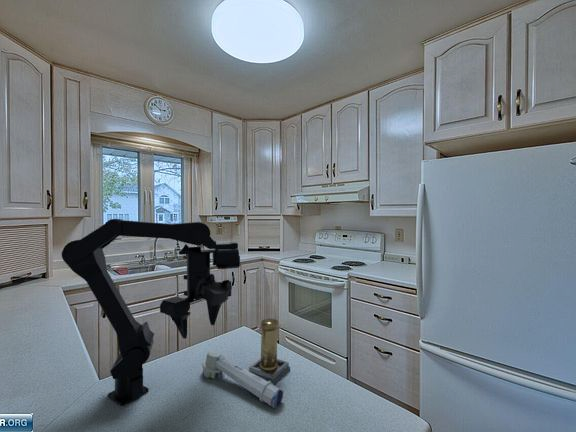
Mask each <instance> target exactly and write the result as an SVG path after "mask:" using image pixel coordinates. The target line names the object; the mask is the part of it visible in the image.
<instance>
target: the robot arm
mask: <svg viewBox="0 0 576 432" xmlns="http://www.w3.org/2000/svg"><path fill="white" fill-rule="evenodd" d="M118 237H133V238H134V237H137V238H138V237H139V238H152V239H155V238H156V239H168V240H173V241H177V242H180V243H185V244H184V246H182V248H181V249H180V250H179V251H178V255H186V274H184V275H183V280H186V284H187V285H186V290H184V291H183V296H186V297H179V296H172V297H170V298H169V297H168V298H166V299H163V300H162V301H161V302H160V304H159V312H160V313H161V314H163V315H164V314H165V315H167V316H169V317H170V319H172V322H173V323H174V324H175V327H176V328H177V330H178V331H179V334H180V336H181V338H182V339H184V340H185V339H187V337H188V317H189V316H190V315H191V314H192V313H191V312H189V311H190V309H191V305H194V304H197V303H200V302H202V301H206V306H207V313H208V314H207V315H208V319H209V324H210V325H211V326H215V325H216V321H217V318H218V315H219V312H220V309H221V306H222V304H224V303H226V301H228V300H229V297H231V296H232V290H233V289H232V288H233V286H232V284H233V283H232V281H231V280H229V279H224V280H222V281H216V279H215V274H214V273H211V260H212V267H214V266H215V268H217V270H226V269H227V270H229V269H238V268H240V266H241V256H240V251H239V243H238V242H229V243H217V240H214V239H213V238H212V237H211V229H210V227H209V226H208V224H206V223H204V222H202V221H193V222H192V221H191V222H181V223H180V222H179V223H165V222H153V221H151V222H150V221H149V222H148V221H138V220H125V219H122V218H111V219H109V220H107V221H106V222H105V223H104V224H103V225H101V226H99V227H98V228H97V229H95V230H93V231H91V232H90V233H88V234H87V235H85V236H84V237H82V238H80V239H75V240H72V241H70V242H68V243H66V244H65V246H63V249H62V251H61V254H60V255H61V258H62V260H63V262H64V263H65V264H66V265H67V266H68V267H69V268H70V270H71V271H72V272H73V273H74V274H75V275H78V277H80V278H82V279H83V280H84V281H85V282H86V284H87V285H88V287H89V289H90V290H91V293H92V294H93V296H94V297H95V299H96V301H97V303H98V304H99V306H100V307H101V309H102V312H103V313H104V315H105V316H106V318H107V319H108V321H109V323H110V325H111V326H112V328H113V330H114V331H115V334H116V338H117V345H118V346H117V347H118V350H119V351H118V352H119V353H118V356H116V357H117V358H116V360H115V361H114V362H113V366H112V367H111V369H110V371H109V372H110V374H111V377H112V379H113V380H114V390H112V391H111V392H108V393H107V398H109V399H111V400H112V401H113V402H116V403H117V404H119V405H120V406H125V405H126V404H128V403H130V402H132V401H135V399H137V398H139V397H140V396H143V395H145V394H146V393H148V392H149V391H150V390H149V389H150V388H149V387H147V386H145V385H144V367H143V365H144V364H145V363H146V362H147V361H148V360H149V358H150V355H151V353H152V348H153V346H154V341H155V340H154V336H155V333H154V332H153V331H152V330H151V329H150V326H149V323H148V322H147V321H144V323H142V324H141V323H139V322H138V321H137V320H136V319H135V317H134V316H133V313H132V312H131V310H130V308H129V307H128V305H127V303H126V302H125V300H124V298H123V295H121V293H120V291H119V289H118V287H117V286H116V284H115V282H114V280H113V278H112V277H111V275H110V273H109V272H108V269H107V264H106V263H107V262H106V256H105V253H104V249H105V248H106V247H107V246H109V245H110V244H111V243H112V242H113V241H114V240H116V239H117V238H118ZM188 244H189V245H193V246H189V245H188ZM201 246H203V247H206V248H207V249H202V247H201ZM211 254H212V256H211ZM211 257H212V259H211Z"/></svg>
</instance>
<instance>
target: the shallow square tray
mask: <svg viewBox="0 0 576 432" xmlns="http://www.w3.org/2000/svg"><path fill="white" fill-rule="evenodd" d="M260 362H261V358H259V359H258V360H257V361H255V362H254V363H253V364H251V365H250V366H249V367H248V371H249V372H251V373H253V374H255V375H256V376H258V377H260V378H262V379H264V380H266V381H267V382H268V381H271V382H272V383H273V385H274V386H275V385H276V383H278V382H279V381H280V380H281V379H282V378H283V377H285V375H287V373H289V372H290V371H291V366H290V363H289V362H288V361H285V360H282V359H280V358H277V370H276V371H275V372H274V373H272V374H271V373H269V372H266V371H263V370H261V369H260Z"/></svg>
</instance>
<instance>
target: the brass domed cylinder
mask: <svg viewBox="0 0 576 432" xmlns="http://www.w3.org/2000/svg"><path fill="white" fill-rule="evenodd" d="M260 329H261V334H260V337H261V338H260V343H261V344H260V359H261V362H260V369H261V370H263V371H266V372H269V373H271V374H272V373H274V372H275V371H276V370H277V359H278V329H279V320H277V319H275V318H264V319H262V320H261V321H260Z"/></svg>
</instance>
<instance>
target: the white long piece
mask: <svg viewBox="0 0 576 432" xmlns="http://www.w3.org/2000/svg"><path fill="white" fill-rule="evenodd" d="M201 366H202V373H203V376H204V377H206V378H207V379H208V378H211V379H218V378H220V377H221V376H222V375H223V374H224V375H226V376H228V377H229V378H230V379H232V380H233V381H235V383H237V384H239V385H240V386H241V387H243V388H245V389H246V390H247V391H249V392H250V393H251V394H253V395H255V397H257V398H259V401H260V402H261V403H265V404H267V405H269V406H270V407H272V408H273V409H276V408H277V407H279V405H280V404H281V403H282V400H283V397H284V391H283V390H282V389H280V388H278V387H277V386H276V385H275V384H274V385H273V383H272V382H271V381H268V382H267V381H266V380H264V379H262V378H260V377H258V376H256V375H255V374H253V373H251V372H249V370H247V369H245V368H243V367H241V366H239V365H237V364H236V363H234V362H232V361H231V360H229V359H227V358H226V357H223V355H222V353H221V351H220V350H218V349H210V350H209V351H208V352H207V353H206V358H205V359H203V360H202V365H201Z"/></svg>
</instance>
